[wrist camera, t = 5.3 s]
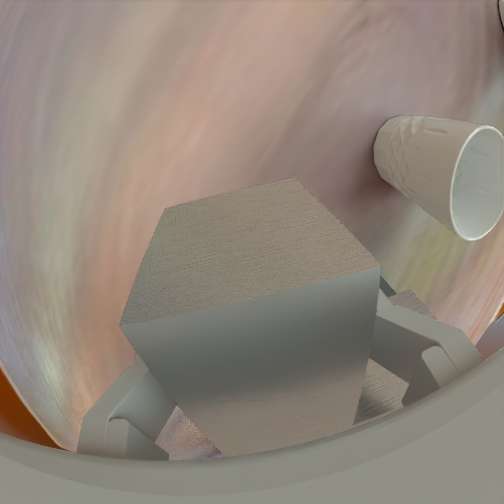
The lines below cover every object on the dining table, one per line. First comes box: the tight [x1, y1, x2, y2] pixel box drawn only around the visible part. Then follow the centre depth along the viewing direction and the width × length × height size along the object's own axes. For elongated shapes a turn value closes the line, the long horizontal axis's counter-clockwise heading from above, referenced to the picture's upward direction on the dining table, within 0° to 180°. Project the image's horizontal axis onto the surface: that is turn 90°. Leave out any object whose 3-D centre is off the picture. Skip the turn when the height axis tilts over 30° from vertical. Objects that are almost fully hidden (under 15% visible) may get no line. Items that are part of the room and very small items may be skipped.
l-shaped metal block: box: [119, 178, 436, 457], centre depth 8 cm, size 10×9×5 cm
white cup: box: [373, 115, 504, 241], centre depth 17 cm, size 8×8×10 cm
